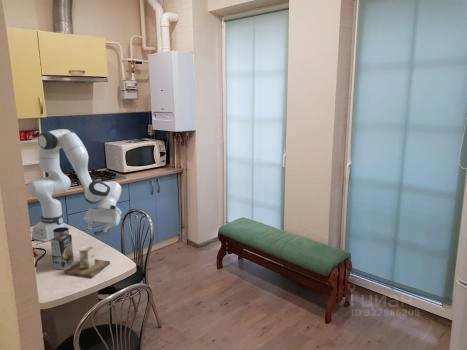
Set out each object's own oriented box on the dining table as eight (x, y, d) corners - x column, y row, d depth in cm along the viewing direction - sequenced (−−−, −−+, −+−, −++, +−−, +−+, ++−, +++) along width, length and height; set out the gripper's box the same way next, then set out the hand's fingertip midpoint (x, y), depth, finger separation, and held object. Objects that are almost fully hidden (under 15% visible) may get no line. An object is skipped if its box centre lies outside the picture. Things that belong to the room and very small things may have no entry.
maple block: (80, 267, 189) (79, 249, 186) (86, 263, 193) (85, 245, 191) (89, 268, 188) (87, 250, 185) (94, 264, 192) (93, 247, 190)
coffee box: (63, 269, 189) (60, 240, 186) (52, 268, 190) (49, 239, 187) (74, 261, 198) (71, 234, 194) (63, 260, 199) (61, 233, 195)
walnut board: (64, 273, 185) (64, 270, 185) (84, 260, 200) (84, 257, 200) (92, 278, 181) (92, 275, 181) (109, 263, 197) (109, 261, 196)
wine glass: (73, 252, 209) (71, 227, 206) (64, 258, 202) (62, 232, 199) (61, 250, 211) (59, 226, 208) (52, 256, 204) (49, 231, 200)
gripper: (87, 203, 203) (77, 226, 196) (119, 207, 198) (110, 230, 191) (92, 208, 208) (82, 230, 201) (124, 212, 204) (115, 235, 197)
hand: (96, 230), depth 196 cm, fingers open, 8 cm apart
